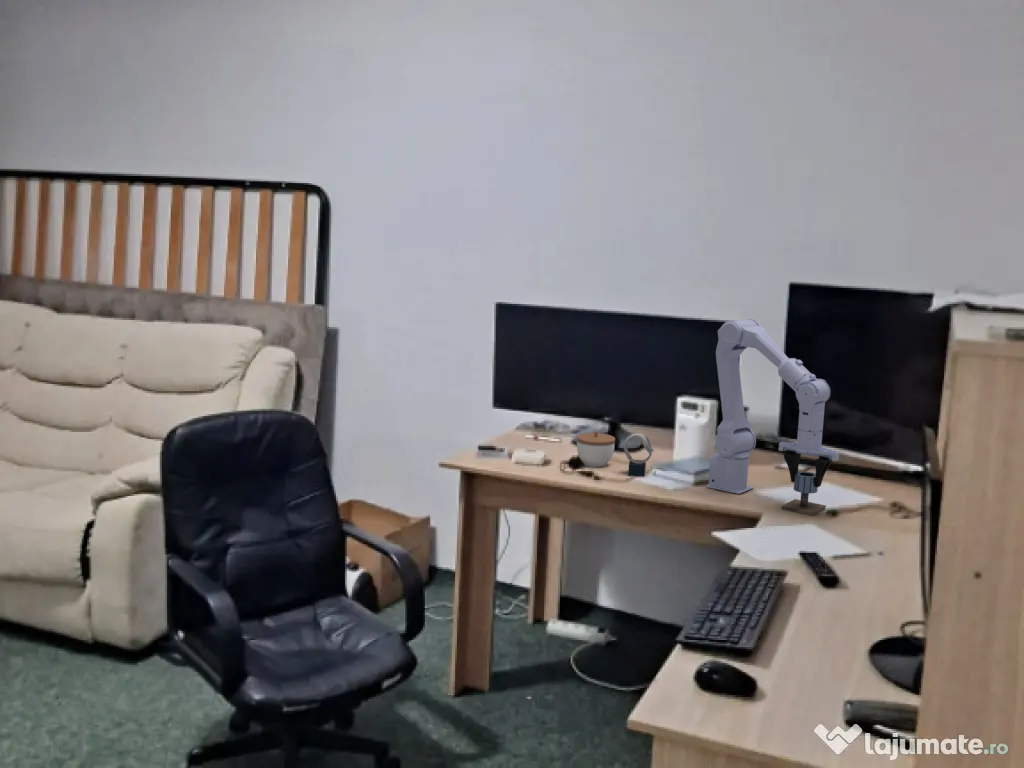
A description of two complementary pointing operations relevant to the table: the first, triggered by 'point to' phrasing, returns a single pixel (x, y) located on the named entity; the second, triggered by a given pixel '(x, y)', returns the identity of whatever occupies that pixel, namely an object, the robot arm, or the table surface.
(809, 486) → the collar
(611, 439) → the lidded jar
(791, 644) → the table surface
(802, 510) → the shaft base
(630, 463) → the watch
